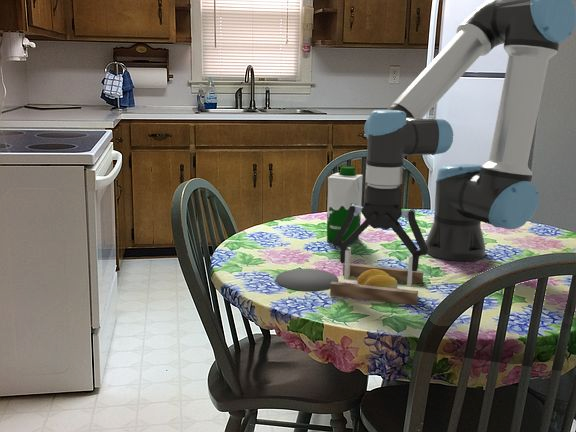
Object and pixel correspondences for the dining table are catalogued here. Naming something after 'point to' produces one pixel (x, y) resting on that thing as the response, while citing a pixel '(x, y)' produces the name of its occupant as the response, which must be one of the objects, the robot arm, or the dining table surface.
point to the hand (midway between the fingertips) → (377, 281)
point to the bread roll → (377, 279)
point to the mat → (306, 279)
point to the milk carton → (343, 201)
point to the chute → (375, 291)
